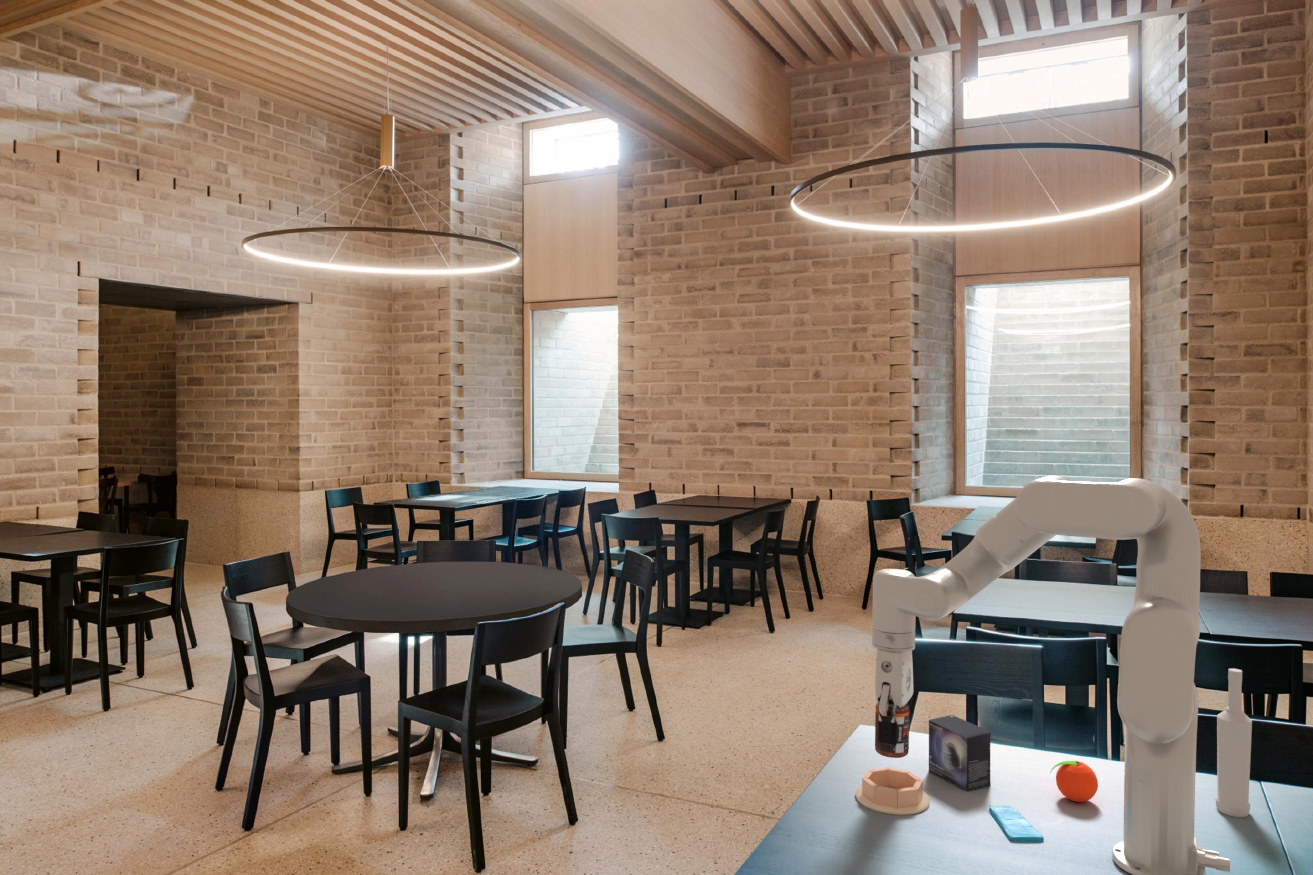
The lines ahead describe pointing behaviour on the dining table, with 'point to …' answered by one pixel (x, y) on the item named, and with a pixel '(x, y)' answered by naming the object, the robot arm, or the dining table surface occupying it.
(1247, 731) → the bottle
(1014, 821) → the sponge
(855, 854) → the dining table surface
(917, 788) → the cup holder
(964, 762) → the small box
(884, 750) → the supplement bottle
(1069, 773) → the clementine
